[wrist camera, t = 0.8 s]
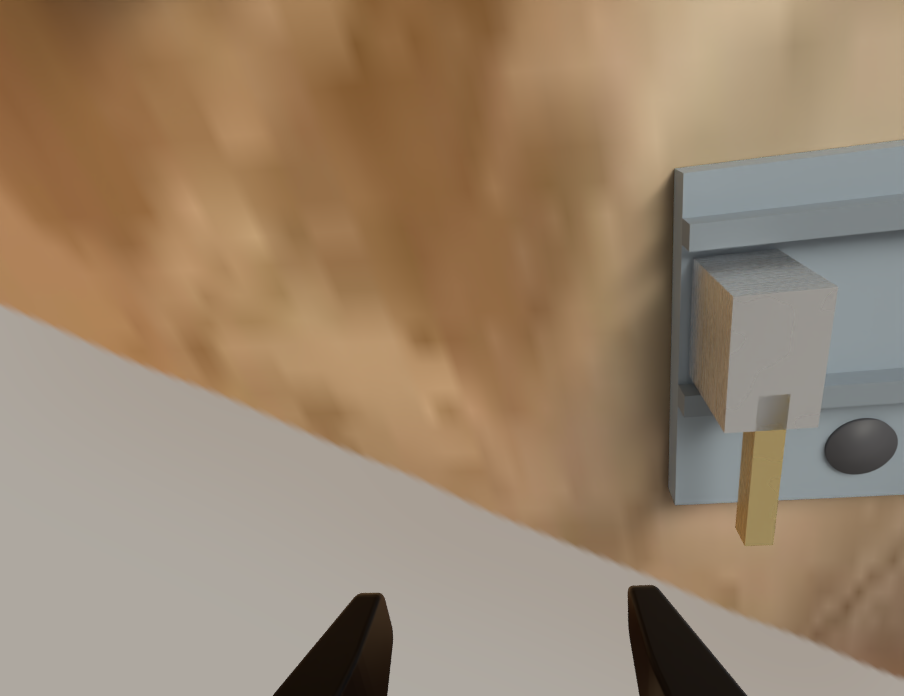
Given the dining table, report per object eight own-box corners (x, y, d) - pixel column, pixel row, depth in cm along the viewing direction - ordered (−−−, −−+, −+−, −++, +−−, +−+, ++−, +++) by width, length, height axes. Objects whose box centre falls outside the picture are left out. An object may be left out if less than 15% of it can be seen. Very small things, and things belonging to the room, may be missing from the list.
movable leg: (777, 248, 17) (837, 287, 14) (756, 471, 20) (801, 543, 17) (692, 257, 17) (733, 296, 14) (685, 475, 21) (717, 546, 17)
